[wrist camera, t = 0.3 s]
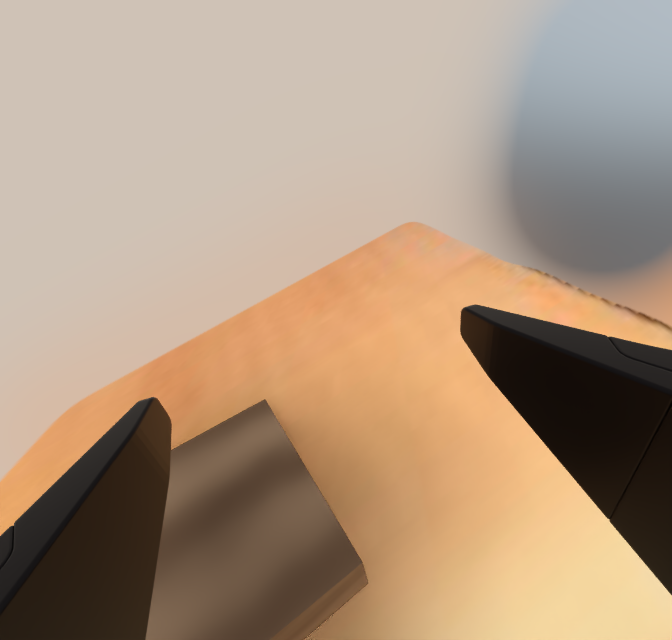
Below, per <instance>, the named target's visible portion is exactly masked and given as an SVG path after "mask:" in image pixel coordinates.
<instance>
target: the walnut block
mask: <svg viewBox="0 0 672 640" xmlns="http://www.w3.org/2000/svg"><path fill="white" fill-rule="evenodd" d="M367 584H368V580H367V576H366V573H365V569H364V566H363V562H362V561H361V559H360V557H359V556H358V554H357V552H356V551H355V549H354V547H353V546H352V544H351V542H350V541H349V539H348V537H347V536H346V534H345V532H344V531H343V529H342V527H341V526H340V524H339V522H338V521H337V519H336V517H335V516H334V514H333V512H332V510H331V509H330V507H329V505H328V504H327V502H326V500H325V499H324V497H323V495H322V494H321V492H320V490H319V489H318V487H317V485H316V484H315V482H314V480H313V479H312V477H311V475H310V474H309V472H308V470H307V469H306V467H305V465H304V464H303V462H302V460H301V458H300V457H299V455H298V453H297V452H296V450H295V448H294V447H293V445H292V443H291V442H290V440H289V438H288V437H287V435H286V433H285V432H284V430H283V428H282V427H281V425H280V423H279V422H278V420H277V418H276V417H275V415H274V413H273V412H272V410H271V408H270V407H269V405H268V403H267V401H266V400H263V401H261V402H259V403H257V404H255V405H253V406H252V407H250V408H248V409H246V410H244V411H242V412H241V413H239V414H237V415H235V416H233V417H231V418H230V419H228V420H226V421H224V422H222V423H220V424H219V425H217V426H215V427H213V428H211V429H209V430H207V431H206V432H204V433H202V434H200V435H198V436H196V437H195V438H193V439H191V440H189V441H187V442H185V443H184V444H182V445H180V446H178V447H176V448H174V449H172V450H171V460H170V479H169V487H168V494H167V500H166V507H165V514H164V520H163V527H162V533H161V540H160V547H159V553H158V560H157V567H156V573H155V580H154V587H153V593H152V600H151V607H150V613H149V620H148V627H147V633H146V640H303V639H304V638H306V637H307V636H308V635H309V634H310V633H311V632H313V631H314V630H315V629H316V628H317V627H318V626H319V625H321V624H322V623H323V622H324V621H325V620H326V619H328V618H329V617H330V616H331V615H332V614H333V613H334V612H336V611H337V610H338V609H339V608H340V607H341V606H343V605H344V604H345V603H346V602H347V601H348V600H349V599H351V598H352V597H353V596H354V595H355V594H356V593H358V592H359V591H360V590H361V589H362V588H363V587H364V586H366V585H367Z"/></svg>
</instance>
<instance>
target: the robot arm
mask: <svg viewBox="0 0 672 640" xmlns="http://www.w3.org/2000/svg"><path fill="white" fill-rule="evenodd" d="M460 332H461V336H462V338H463V340H464V341H465V343H466V344H467V346H468V347H469V349H470V350H471V352H472V353H473V355H474V356H475V358H476V359H477V361H478V362H479V364H480V365H481V367H482V368H483V370H484V371H485V372H486V374H487V375H488V377H489V378H490V379H491V380H492V382H493V383H494V384H495V385H496V386H497V388H498V389H499V390H500V391H501V392H502V394H503V395H504V396H505V397H506V398H507V399H508V401H509V402H510V403H511V404H512V405H513V407H514V408H515V409H516V410H517V411H518V413H519V414H520V415H521V416H522V417H523V419H524V420H525V421H526V422H527V423H528V424H529V426H530V427H531V428H532V429H533V430H534V432H535V433H536V434H537V435H538V436H539V438H540V439H541V440H542V441H543V442H544V444H545V445H546V446H547V447H548V448H549V449H550V451H551V452H552V453H553V454H554V455H555V457H556V458H557V459H558V460H559V461H560V463H561V464H562V465H563V466H564V467H565V469H566V470H567V471H568V472H569V473H570V474H571V476H572V477H573V478H574V479H575V480H576V482H577V483H578V484H579V485H580V486H581V488H582V489H583V490H584V491H585V492H586V494H587V495H588V496H589V497H590V498H591V499H592V501H593V502H594V503H595V504H596V505H597V507H598V508H599V509H600V510H601V511H602V513H603V514H604V515H605V516H606V517H607V518H608V519H610V522H611V524H612V525H613V526H614V527H615V528H616V530H617V531H618V532H619V533H620V534H621V536H622V537H623V538H624V539H625V540H626V541H627V543H628V544H629V545H630V546H631V547H632V549H633V550H634V551H635V552H636V553H637V555H638V556H639V557H640V558H641V559H642V561H643V562H644V563H645V564H646V565H647V566H648V568H649V569H650V570H651V571H652V572H653V574H654V575H655V576H656V577H657V578H658V580H659V581H660V582H661V583H662V584H663V585H664V587H665V588H666V589H667V590H668V591H669V593H670V594H671V595H672V350H668V349H663V348H658V347H654V346H649V345H645V344H640V343H636V342H631V341H627V340H623V339H619V338H615V337H607V336H606V335H602V334H598V333H593V332H589V331H585V330H581V329H577V328H572V327H568V326H564V325H560V324H556V323H551V322H547V321H543V320H539V319H535V318H531V317H526V316H522V315H518V314H514V313H510V312H506V311H501V310H497V309H493V308H489V307H485V306H480V305H471V306H468V307H464V308H463V309H462V311H461V325H460ZM171 427H172V425H171V420H170V417H169V415H168V414H167V412H166V411H165V409H164V408H163V406H162V405H161V403H160V402H159V400H158V399H157V398H155V397H151V398H148V399H145V400H141V401H139V402H137V403H136V404H135V405H134V406H133V407H132V408H131V409H130V410H129V411H128V412H127V413H126V414H125V415H124V416H123V417H122V418H121V419H120V420H119V421H118V422H117V423H116V424H115V425H114V426H113V427H112V428H111V429H110V430H109V431H108V432H107V433H106V434H104V435H103V436H102V437H101V438H100V439H99V440H98V441H97V442H96V443H95V444H94V445H93V446H92V447H91V448H90V449H89V450H88V451H87V452H86V453H85V454H84V455H83V456H82V457H81V458H80V459H79V460H78V461H77V462H76V463H75V464H74V465H73V466H72V467H71V468H70V469H69V470H68V471H67V472H66V473H65V474H64V475H63V476H62V477H60V478H59V479H58V480H57V481H56V482H55V483H54V484H53V485H52V486H51V487H50V488H49V489H48V490H47V491H46V492H45V493H44V494H43V495H42V496H41V497H40V498H39V499H38V500H37V501H36V502H35V503H34V504H33V505H32V506H31V507H30V508H29V509H28V510H27V511H26V512H25V513H24V514H23V515H22V516H21V517H20V518H19V519H18V520H17V521H15V523H14V526H11V527H9V528H8V529H7V530H6V531H5V532H4V533H3V534H2V535H1V536H0V640H146V633H147V627H148V620H149V613H150V607H151V600H152V593H153V587H154V580H155V573H156V567H157V560H158V553H159V547H160V540H161V533H162V527H163V520H164V514H165V507H166V500H167V494H168V487H169V479H170V460H171Z"/></svg>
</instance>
